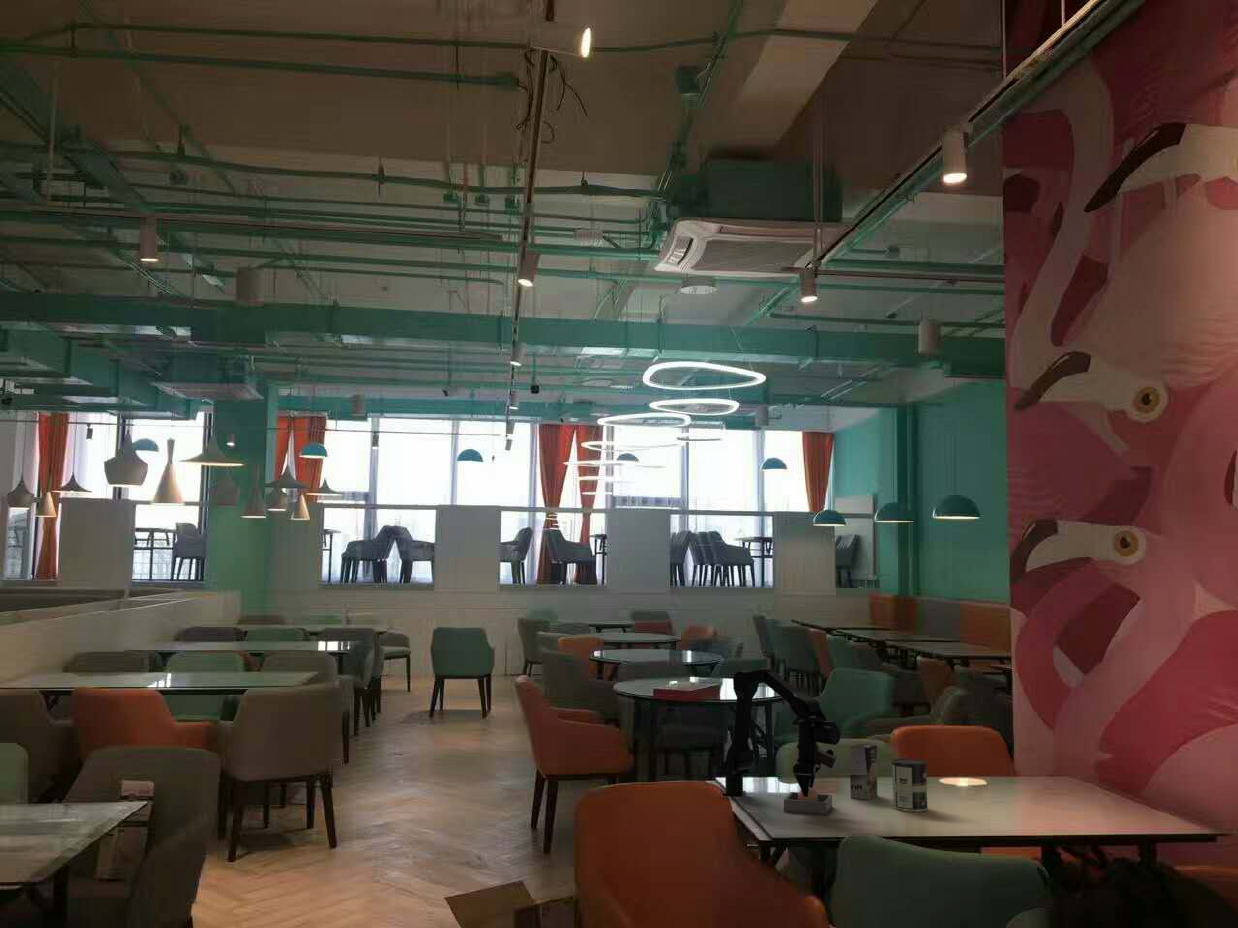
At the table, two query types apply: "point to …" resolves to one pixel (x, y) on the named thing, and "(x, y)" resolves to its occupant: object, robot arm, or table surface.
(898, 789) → the coffee can
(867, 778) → the coffee box
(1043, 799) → the table surface
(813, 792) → the ball
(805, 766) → the robot arm
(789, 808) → the grey open square tray
